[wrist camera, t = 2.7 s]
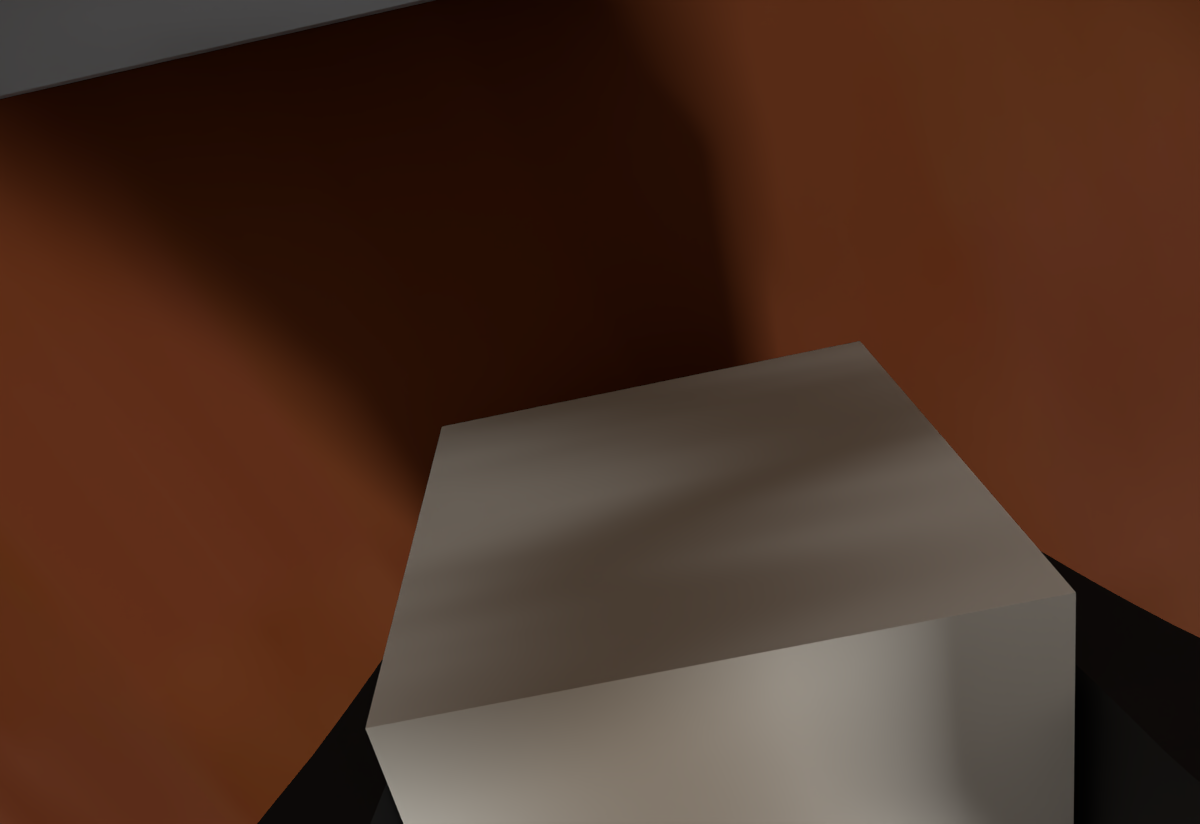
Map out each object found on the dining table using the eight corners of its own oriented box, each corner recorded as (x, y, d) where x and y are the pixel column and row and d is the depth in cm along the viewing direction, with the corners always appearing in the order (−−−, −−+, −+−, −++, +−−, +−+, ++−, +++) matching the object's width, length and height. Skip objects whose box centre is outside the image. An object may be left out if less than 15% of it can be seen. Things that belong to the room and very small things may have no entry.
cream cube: (860, 341, 11) (1075, 592, 6) (891, 674, 13) (1072, 1044, 8) (441, 426, 11) (365, 727, 7) (537, 741, 13) (528, 1137, 9)
